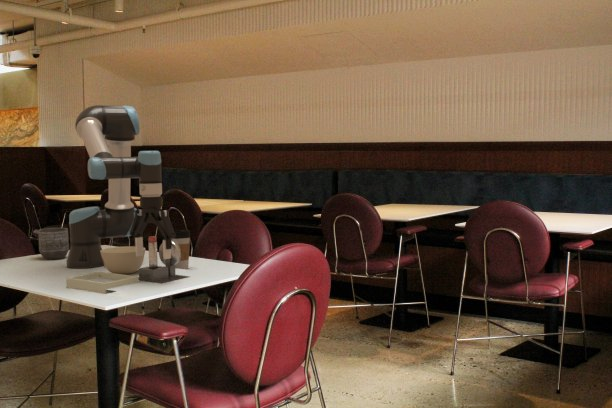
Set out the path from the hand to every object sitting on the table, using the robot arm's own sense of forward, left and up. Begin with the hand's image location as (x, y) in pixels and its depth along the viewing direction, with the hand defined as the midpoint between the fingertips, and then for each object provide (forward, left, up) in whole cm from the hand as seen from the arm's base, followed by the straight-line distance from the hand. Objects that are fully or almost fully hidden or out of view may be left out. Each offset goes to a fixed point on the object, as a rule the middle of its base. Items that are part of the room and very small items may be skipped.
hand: (153, 257), depth 235 cm
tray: (-11, -13, -9) cm, 19 cm away
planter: (-81, +18, -9) cm, 84 cm away
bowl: (-20, +4, -9) cm, 23 cm away
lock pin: (0, 0, -8) cm, 8 cm away
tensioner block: (0, +3, -9) cm, 10 cm away
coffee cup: (-13, +26, -9) cm, 31 cm away
